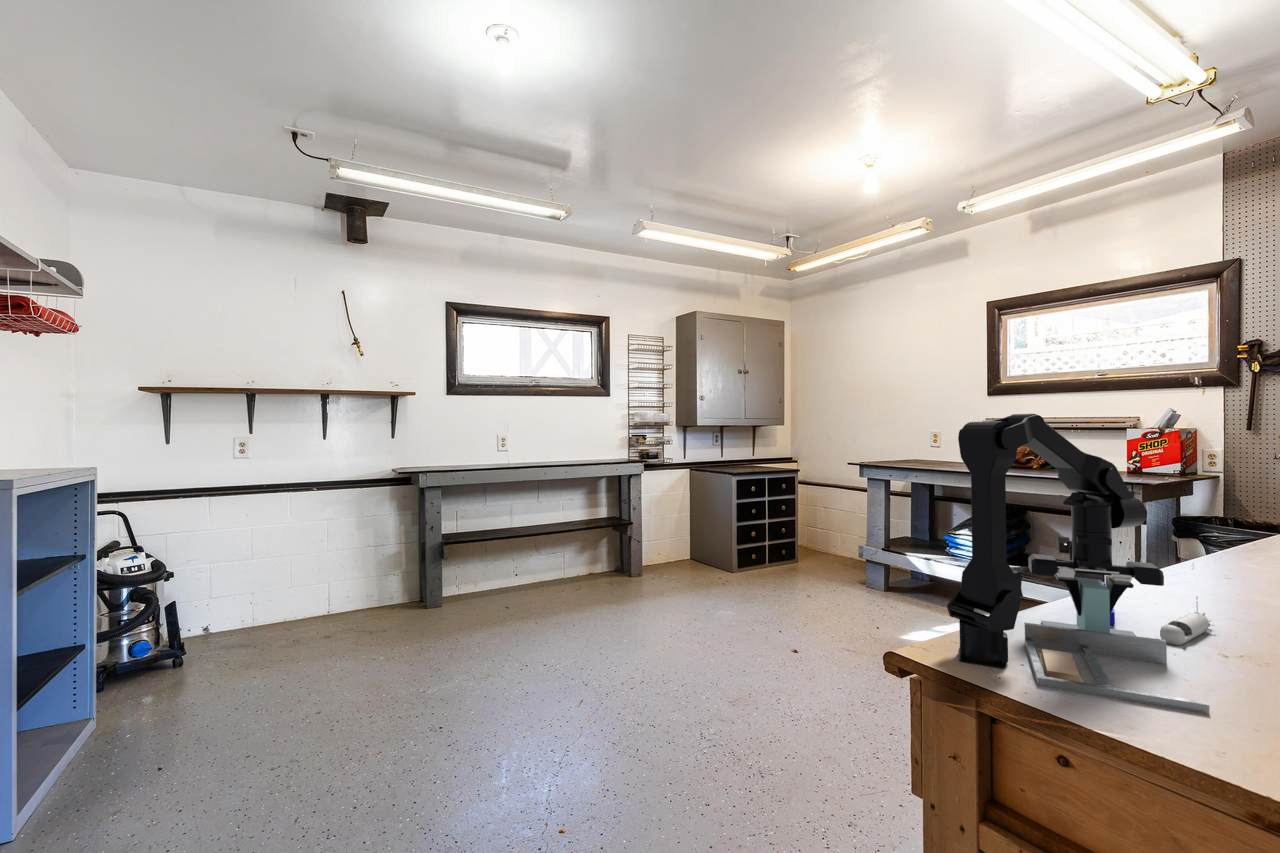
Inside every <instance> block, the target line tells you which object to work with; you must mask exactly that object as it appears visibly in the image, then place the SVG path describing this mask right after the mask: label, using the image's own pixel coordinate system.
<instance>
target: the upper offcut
mask: <svg viewBox="0 0 1280 853" xmlns="http://www.w3.org/2000/svg"><path fill="white" fill-rule="evenodd" d="M1041 653H1042V658H1043V663H1044V667H1045V670H1044V672H1045V671H1046V673H1045V676H1046V677H1052V678H1058V679H1065V680H1071V681H1077V682H1080V676H1081V675H1080V673H1079V670H1078V668H1077V664H1076V663H1075V660H1074V657H1073V654H1072V652H1068V651H1061V650H1055V649H1048V648H1041Z"/></svg>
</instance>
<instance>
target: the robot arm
mask: <svg viewBox="0 0 1280 853" xmlns="http://www.w3.org/2000/svg"><path fill="white" fill-rule="evenodd" d="M958 431H959V432H958V437H957V440H958V445H959V446H958V447H959V453H960V458H961V460H962V461H963V462H962V463H964V465H965V467H966V468H967V470H968V471H969V473H970V486H971V488H970V493H971V494H970V496H971V498H970V499H971V504H970V505H971V506H970V507H971V560H969V562H968V564H967V565H966V567H965V568H964V569H963V571H962V572H961V573H962V574H961V579H960V580H961V581H960V582H961V583H960V587H959V588H958V589H957V591H956V592H955V593H954V594H953V596H952V597H951V600H949V602H948V603H947V605H946V608H947V609H946V610H947V612H948V615H949V617H950V618H955V619H957V620H959V621H958V622H959V623H958V624H959V648H958V654H959V655H958V661H959V662H960V663H965V664H971V665H976V666H982V667H989V668H995V669H1001V670H1005V669H1006V663H1008V662H1009V638H1008V634H1007V633H1006V632H1005V631H1010V630H1014V629H1015V626H1016V621H1017V617H1018V614H1019V610H1020V605H1021V598H1024V595H1023V591H1022V583H1023V582H1022V581H1023V576H1022V572H1020V571H1019V570H1018V571H1017V570H1015V569H1012V567H1011V566H1010V564H1009V563H1008V561H1007V560H1008V559H1007V558H1008V557H1007V504H1006V502H1007V500H1006V499H1007V496H1006V494H1007V492H1006V490H1007V489H1006V475H1007V473H1008V472H1009V470H1010V469H1011V467H1012V465H1014V463H1015V461H1016V459H1017V453H1018V448H1019V447H1021V446H1026V447H1027V448H1028V449H1030V450H1031V451H1033V452H1034V453H1035V454H1036V455H1038V456H1039V457H1040V458H1042V459H1043V460H1044V461H1045V462H1047V463H1048V464H1050V465H1051V466H1052V467H1054V468H1055V469H1056V470H1057V477H1058V479H1059V480H1060V481H1061V483H1062V484H1064V486H1065V487H1066V488H1067V489H1068V490H1070V491H1072V492H1071V494H1070V495H1069V496H1068V497H1067V498H1064V500H1063V501H1062V505H1064V506H1068V507H1069V506H1071V507H1070V508H1071V509H1070V510H1071V511H1070V512H1071V539H1070V537H1069V536H1057V537H1056V553H1057V554H1058V555H1065V556H1066V555H1067V556H1068V561H1067V560H1066V561H1064V560H1057V559H1056V557H1055V556H1054V555H1053V554H1052V555H1050V554H1049V555H1048V554H1037V553H1032V554H1030V555H1029V556H1028V559H1027V560H1028V569H1029V571H1030V574H1033V575H1036V576H1037V575H1040V576H1048V577H1053V576H1054V577H1055V578H1056V580H1057V581H1058V582H1063V583H1064V584H1065V586H1066V588H1067V590H1068V593H1069V595H1070V597H1071V601H1072V603H1073V605H1074V608H1075V611H1076V615H1077V614H1078V615H1079V616H1081V600H1080V592H1079V584H1078V580H1077V578H1078V577H1077V576H1075V575H1076V573H1077V574H1078V573H1079V574H1090V575H1097V576H1098V575H1100V576H1105V585H1106V587H1107V588H1108V589H1109V597H1110V614H1111V612H1112V610H1113V609H1115V606H1116V604H1117V602H1118V600H1119V599H1120V598H1121V597H1122V595H1123V594H1124V592H1126V590H1127V589H1134V584H1133V583H1132V580H1133V579H1135V580H1136V581H1137V582H1138V583H1139V584H1140V585H1145V586H1146V585H1147V586H1148V585H1149V586H1159V587H1163V586H1165V575H1164V572H1163V570H1161V569H1160V568H1158V567H1157V566H1156V565H1155V564H1153V563H1151V562H1144V561H1143V562H1141V561H1140V562H1139V561H1131V560H1130V561H1128V560H1127V561H1126V565H1116V564H1115V565H1114V564H1113V539H1112V538H1113V536H1112V535H1113V534H1112V533H1113V532H1112V530H1113V529H1121V528H1131V527H1132V528H1133V527H1139V526H1141V525H1142V524H1144V523H1145V521H1146V520H1147V517H1148V510H1147V508H1146V506H1145V505H1144V503H1143V502H1142V501H1141V500H1140V499H1139V498H1137V497H1136V496H1135V491H1134V490H1130V489H1129V488H1128V486H1127V485H1126V483H1125V481H1124V479H1123V478H1122V476H1121V474H1120V472H1119V470H1118V468H1117V467H1116V465H1115V463H1113V462H1111V461H1109V460H1106V459H1104V458H1103V457H1100V456H1097V455H1093V454H1090V453H1086V452H1085V451H1082V450H1081V449H1079V448H1078V446H1076V445H1074V444H1073V443H1072V442H1071V441H1069V440H1068V439H1067V438H1065V437H1064V436H1063V435H1062V434H1060V432H1058V431H1057V430H1055V429H1054V428H1053V427H1052V426H1050V425H1049V424H1048V423H1047V422H1045V419H1044V418H1043V417H1042V416H1041V415H1039V414H1036V413H1015V414H1010V415H1007V416H1005V417H1002V418H997V419H993V420H988V421H987V420H985V421H969V422H967V423H965V424H964V425H963V426H962V428H960V429H959V430H958ZM1076 577H1077V578H1076ZM975 610H977V611H981V612H984V613H987V614H989V615H986V614H984V613H981V612H977V611H975Z"/></svg>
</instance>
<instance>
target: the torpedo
mask: <svg viewBox="0 0 1280 853" xmlns="http://www.w3.org/2000/svg"><path fill="white" fill-rule="evenodd" d="M1198 598H1199V596H1196V599H1198ZM1198 606H1199V605H1198V602H1196V612H1195V611H1194V612H1188V613H1187V614H1184V615H1183V616H1180V617H1178V618H1176V619H1173V620H1172V621H1169V623H1168V624H1164V625H1162V626H1161V627H1160V630H1159V637H1160V639H1162V640H1165V641H1166V644H1169V645H1171V646H1181V645H1184V644H1185V643H1187V642H1189V641H1190V640H1192V639H1194V638H1196V637H1197V636H1200V635H1201V634H1203V633H1205V632H1207V631H1208V630H1209V628H1211V627H1210V626H1215V624H1212V623H1211V622H1212V619H1210V618H1207V616H1206V612H1203V613H1202V612H1199V608H1198Z"/></svg>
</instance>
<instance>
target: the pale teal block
mask: <svg viewBox="0 0 1280 853" xmlns="http://www.w3.org/2000/svg"><path fill="white" fill-rule="evenodd" d="M1075 577H1076V578H1077V580H1078V584H1079V592H1080V600H1081V616H1079V615H1078V614H1077V613H1076V625H1077V626H1078V628H1079V629H1081V630H1089V631H1097V632H1105V633H1110V629H1111V626H1110V597H1109V589H1108V588H1107V587H1106V586H1105V585H1106V584H1105V585H1104V584H1103V583H1102V582H1103V581H1102V580H1101V579H1098V578H1097V579H1096V578H1087V577H1077V576H1075Z"/></svg>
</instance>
